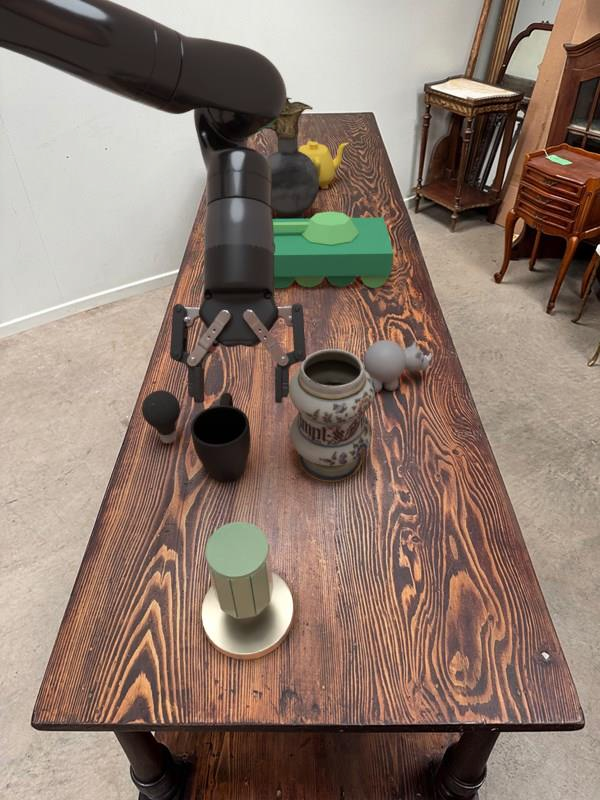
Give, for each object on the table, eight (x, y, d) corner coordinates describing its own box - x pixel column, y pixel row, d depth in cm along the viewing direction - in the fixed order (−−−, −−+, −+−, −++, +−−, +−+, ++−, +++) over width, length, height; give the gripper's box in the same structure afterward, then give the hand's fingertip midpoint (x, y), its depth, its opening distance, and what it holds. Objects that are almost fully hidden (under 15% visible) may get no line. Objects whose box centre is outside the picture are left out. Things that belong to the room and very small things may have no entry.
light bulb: (180, 456, 84) (169, 409, 77) (146, 452, 84) (132, 406, 78) (191, 430, 88) (181, 384, 81) (158, 426, 88) (146, 380, 82)
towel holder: (222, 678, 60) (205, 621, 50) (190, 595, 67) (170, 531, 57) (309, 632, 63) (309, 571, 54) (270, 558, 71) (263, 492, 61)
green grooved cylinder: (229, 629, 58) (219, 588, 52) (208, 578, 62) (196, 535, 56) (282, 602, 60) (279, 560, 54) (258, 555, 65) (252, 511, 58)
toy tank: (232, 203, 123) (385, 201, 123) (237, 253, 132) (380, 251, 131) (224, 239, 110) (395, 236, 110) (230, 291, 119) (389, 289, 118)
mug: (259, 431, 87) (255, 387, 81) (250, 491, 79) (245, 447, 72) (209, 430, 88) (201, 386, 81) (194, 489, 79) (184, 445, 72)
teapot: (322, 197, 155) (322, 154, 147) (282, 186, 161) (280, 145, 153) (347, 182, 163) (349, 140, 155) (308, 172, 169) (308, 132, 161)
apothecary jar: (331, 418, 89) (334, 329, 77) (385, 459, 83) (398, 368, 70) (275, 455, 84) (268, 365, 71) (328, 502, 77) (331, 412, 65)
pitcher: (321, 224, 142) (322, 98, 122) (248, 228, 141) (237, 102, 121) (316, 207, 150) (317, 86, 130) (248, 211, 149) (237, 89, 129)
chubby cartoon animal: (433, 392, 94) (441, 353, 88) (366, 397, 93) (369, 359, 87) (422, 365, 99) (429, 327, 93) (358, 371, 98) (361, 333, 92)
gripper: (163, 241, 54) (162, 402, 54) (305, 240, 54) (305, 401, 53) (181, 262, 62) (181, 404, 61) (305, 261, 61) (306, 403, 61)
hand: (239, 402), depth 57 cm, fingers open, 8 cm apart
